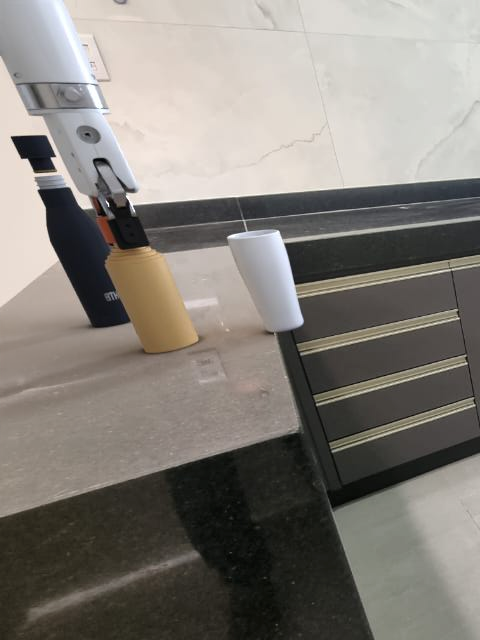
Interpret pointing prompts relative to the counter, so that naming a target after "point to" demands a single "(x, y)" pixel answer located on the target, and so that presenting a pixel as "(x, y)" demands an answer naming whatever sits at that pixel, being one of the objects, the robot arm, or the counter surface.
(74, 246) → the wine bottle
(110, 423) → the counter surface
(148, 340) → the sauce bottle
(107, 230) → the cap
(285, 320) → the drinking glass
